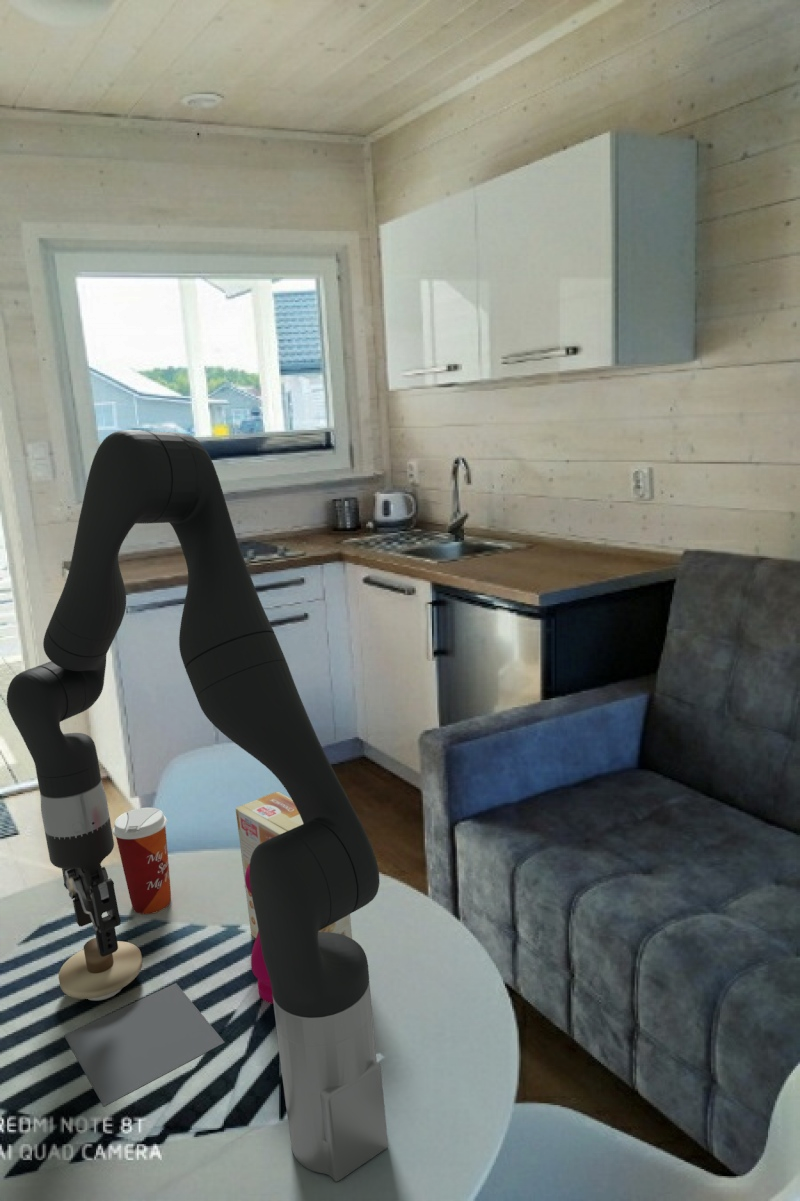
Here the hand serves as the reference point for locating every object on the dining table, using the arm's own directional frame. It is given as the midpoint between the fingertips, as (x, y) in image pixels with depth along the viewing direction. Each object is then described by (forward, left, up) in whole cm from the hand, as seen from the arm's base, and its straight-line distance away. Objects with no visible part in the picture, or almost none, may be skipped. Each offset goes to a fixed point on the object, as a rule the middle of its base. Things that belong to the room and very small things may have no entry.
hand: (97, 937), depth 111 cm
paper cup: (+15, -12, -8) cm, 21 cm away
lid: (0, 0, -5) cm, 5 cm away
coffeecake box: (-10, -23, -8) cm, 26 cm away
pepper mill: (-16, -17, -8) cm, 25 cm away
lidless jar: (0, 0, -8) cm, 8 cm away
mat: (-13, 0, -8) cm, 15 cm away
